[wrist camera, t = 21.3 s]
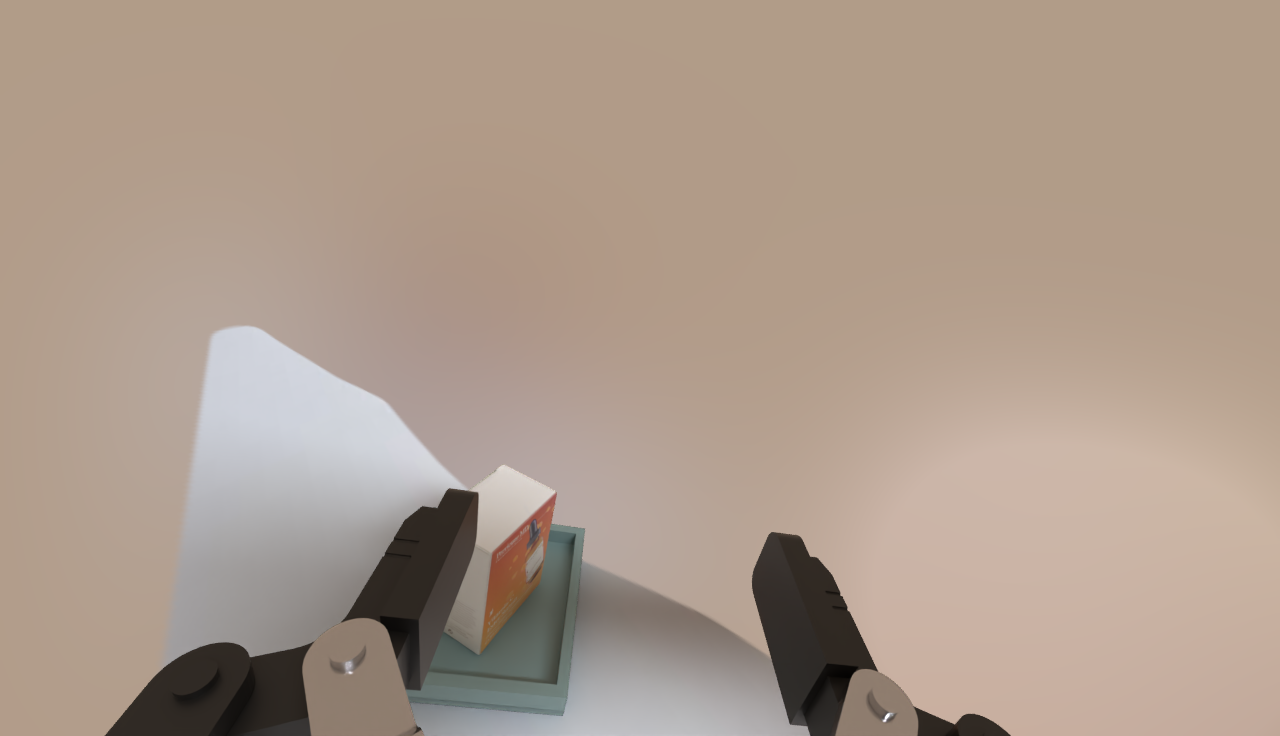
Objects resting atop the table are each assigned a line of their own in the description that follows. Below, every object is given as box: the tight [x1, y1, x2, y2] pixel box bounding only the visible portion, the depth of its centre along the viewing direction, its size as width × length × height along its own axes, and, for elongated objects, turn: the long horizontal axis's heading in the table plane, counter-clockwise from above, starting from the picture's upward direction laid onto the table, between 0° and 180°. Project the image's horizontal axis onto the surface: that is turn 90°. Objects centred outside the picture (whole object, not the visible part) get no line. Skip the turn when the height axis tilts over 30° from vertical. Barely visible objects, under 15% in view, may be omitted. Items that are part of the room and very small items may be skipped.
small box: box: [444, 464, 557, 655], centre depth 36 cm, size 8×6×10 cm
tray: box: [406, 507, 585, 716], centre depth 38 cm, size 15×16×2 cm
